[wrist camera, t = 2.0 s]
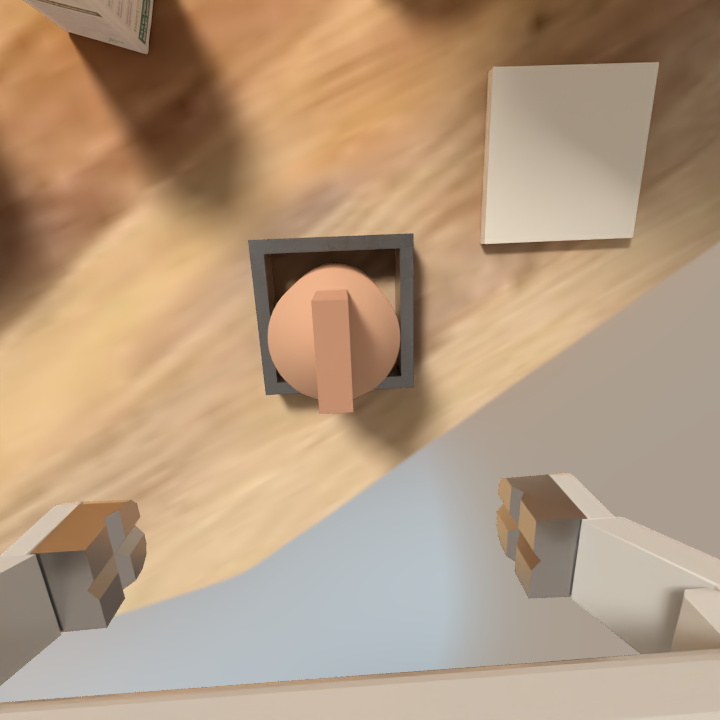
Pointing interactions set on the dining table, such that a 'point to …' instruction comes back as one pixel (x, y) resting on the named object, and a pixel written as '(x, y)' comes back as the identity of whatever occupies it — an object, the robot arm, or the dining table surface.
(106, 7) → the syrup box
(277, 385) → the holder
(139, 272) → the dining table surface
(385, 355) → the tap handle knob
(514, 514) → the robot arm
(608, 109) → the tile
